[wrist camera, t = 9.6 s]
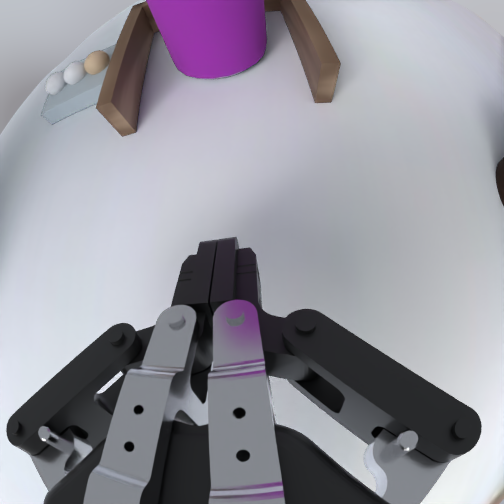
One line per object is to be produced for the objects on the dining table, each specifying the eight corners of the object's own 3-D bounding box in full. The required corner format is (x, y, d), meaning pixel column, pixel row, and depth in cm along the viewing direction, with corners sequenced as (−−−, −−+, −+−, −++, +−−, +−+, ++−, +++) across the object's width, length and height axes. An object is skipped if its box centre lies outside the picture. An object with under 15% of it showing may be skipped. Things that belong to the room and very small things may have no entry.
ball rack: (52, 124, 19) (30, 105, 15) (66, 83, 20) (49, 64, 16) (117, 95, 18) (97, 69, 15) (127, 55, 19) (112, 30, 16)
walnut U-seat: (122, 136, 18) (95, 107, 14) (145, 30, 20) (133, 5, 16) (331, 102, 17) (340, 63, 13) (289, 5, 19) (289, -23, 15)
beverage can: (181, 97, 18) (120, -31, 6) (172, 46, 19) (131, -52, 7) (280, 72, 17) (275, -66, 6) (253, 25, 19) (240, -79, 7)
